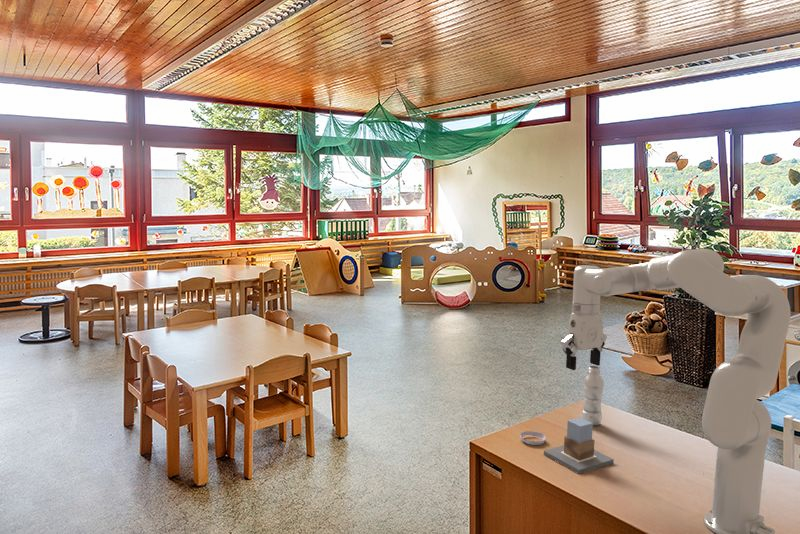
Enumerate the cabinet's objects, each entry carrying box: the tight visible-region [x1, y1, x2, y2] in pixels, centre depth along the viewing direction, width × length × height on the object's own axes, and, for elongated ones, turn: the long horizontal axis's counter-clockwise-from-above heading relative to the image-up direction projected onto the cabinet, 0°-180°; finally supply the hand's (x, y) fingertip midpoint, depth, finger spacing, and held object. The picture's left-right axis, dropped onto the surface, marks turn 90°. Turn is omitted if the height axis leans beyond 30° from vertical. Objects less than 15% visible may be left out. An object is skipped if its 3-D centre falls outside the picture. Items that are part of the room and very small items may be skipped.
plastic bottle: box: [580, 365, 605, 427], centre depth 199 cm, size 6×7×20 cm
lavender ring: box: [519, 430, 547, 446], centre depth 186 cm, size 8×8×2 cm
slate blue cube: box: [566, 417, 594, 443], centre depth 173 cm, size 5×5×5 cm
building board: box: [543, 444, 615, 475], centre depth 174 cm, size 14×14×1 cm
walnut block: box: [563, 435, 595, 460], centre depth 174 cm, size 6×6×5 cm
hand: (583, 366), depth 171 cm, fingers open, 9 cm apart
